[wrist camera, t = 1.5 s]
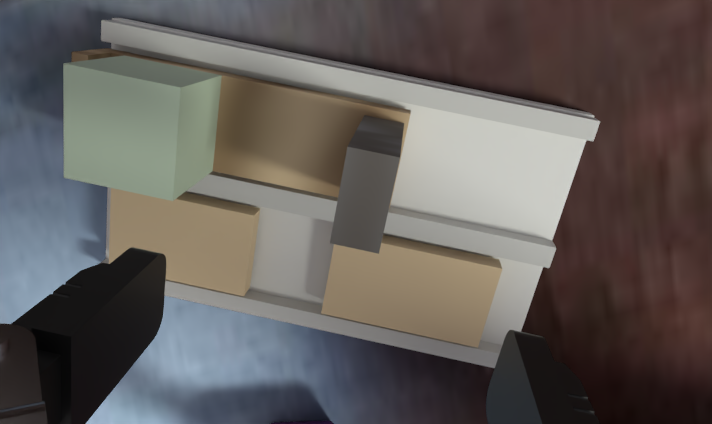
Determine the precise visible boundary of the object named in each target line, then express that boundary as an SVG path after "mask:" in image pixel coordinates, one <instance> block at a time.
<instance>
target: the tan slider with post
mask: <svg viewBox="0 0 712 424" xmlns="http://www.w3.org/2000/svg"><path fill="white" fill-rule="evenodd" d="M124 55H125V56H130V57H135V58H139V59H144V60H149V61H154V62H159V63H164V64H169V65H174V66H179V67H183V68H188V69H193V70H198V71H203V72H208V73H213V74H218V75H222V79H221V89H220V99H219V110H218V120H217V131H216V141H215V151H214V162H213V171H215V172H219V173H224V174H229V175H233V176H238V177H243V178H248V179H252V180H257V181H262V182H267V183H271V184H276V185H281V186H286V187H290V188H295V189H300V190H304V191H309V192H314V193H319V194H323V195H328V196H333V197H338V201H337V206H336V212H335V217H334V223H333V228H332V233H331V239H330V243H331V244H336V245H340V246H345V247H350V248H354V249H359V250H364V251H368V252H373V253H378V254H379V251H380V247H381V242H382V238H383V233H384V228H385V224H386V219H387V215H388V210H389V208H390V204H391V200H392V195H393V191H394V186H395V182H396V177H397V173H398V168H399V164H400V159H401V155H402V150H403V146H404V141H405V137H406V132H407V128H408V123H409V119H410V114H411V110H408V109H403V108H398V107H393V106H388V105H383V104H378V103H374V102H369V101H364V100H359V99H354V98H349V97H344V96H339V95H334V94H330V93H325V92H320V91H315V90H310V89H305V88H300V87H295V86H290V85H286V84H281V83H276V82H271V81H266V80H261V79H256V78H251V77H246V76H242V75H237V74H232V73H227V72H222V71H217V70H212V69H207V68H203V67H198V66H193V65H188V64H183V63H178V62H173V61H168V60H163V59H159V58H154V57H149V56H144V55H139V54H134V53H129V52H124V51H119V50H115V49H110V48H105V49H95V50H85V51H75V52H72V62H78V61H85V60H93V59H101V58H108V57H116V56H124Z"/></svg>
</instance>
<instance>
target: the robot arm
mask: <svg viewBox="0 0 712 424" xmlns="http://www.w3.org/2000/svg"><path fill="white" fill-rule="evenodd" d="M165 279H166V257H165V255H164V254H162V253H157V252H152V251H148V250H143V249H139V248H134V247H131V248H129V249H127V250H126V251H125V252H124V253H122V254H121V255H120V256H119V257H118V258H116V259H115V260H114V261H113V262H111V263H110V264H107V263H100V264H98V265H95V266H92V267H90V268H87V269H84V270H81V271H80V272H79V273H77V274H76V275H75V276H73V277H72V278H71V279H69V280H68V281H67V282H66V284H65V285H62V286H60V287H59V288H58V289H56V290H55V291H54V292H53V295H52V294H50V295H49V296H47V297H46V298H45V299H43V300H42V301H41V302H39V303H38V304H37V305H35V306H34V307H33V308H32V309H30V310H29V311H28V312H26V313H25V314H24V315H22V316H21V317H20V318H18V319H17V320H16V321H15V322H13V323H12V324H0V424H85V423H86V422H87V421H88V420H89V418H90V417H91V416H92V415H93V413H94V412H95V411H96V410H97V409H98V407H99V406H100V405H101V404H102V402H103V401H104V400H105V399H106V397H107V396H108V395H109V394H110V392H111V391H112V390H113V389H114V388H115V386H116V385H117V384H118V383H119V381H120V380H121V379H122V378H123V376H124V375H125V374H126V373H127V371H128V370H129V369H130V368H131V366H132V365H133V364H134V363H135V362H136V360H137V359H138V358H139V357H140V355H141V354H142V353H143V352H144V350H145V349H146V348H147V347H148V345H149V344H150V343H151V342H152V340H153V339H154V338H155V336H156V334H157V332H158V330H159V327H160V324H161V321H162V317H163V308H164V293H165ZM486 414H487V420H488V424H600V423H599V420H598V418H597V416H596V415H594V409H593V407H592V405H591V403H590V401H588V396H587V394H586V392H585V389H584V387H583V385H582V383H581V381H580V379H579V378H578V377H577V376H576V375H575V374H574V373H573V372H572V371H571V370H570V369H569V368H568V367H567V366H566V365H565V364H564V363H559V362H555V361H554V359H553V357H552V354H551V352H550V349H549V347H548V344H547V342H546V340H545V338H544V337H543V336H538V335H534V334H529V333H524V332H520V331H515V330H509V331H508V332H507V334H506V336H505V339H504V342H503V345H502V348H501V351H500V354H499V357H498V360H497V363H496V366H495V369H494V372H493V375H492V378H491V381H490V384H489V388H488V392H487V399H486Z"/></svg>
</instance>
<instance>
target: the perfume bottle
mask: <svg viewBox="0 0 712 424" xmlns="http://www.w3.org/2000/svg"><path fill="white" fill-rule="evenodd" d="M271 424H334V423H332V422H331V421H328V420H327V421H299V422H274V423H271Z"/></svg>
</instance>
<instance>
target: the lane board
mask: <svg viewBox="0 0 712 424" xmlns="http://www.w3.org/2000/svg"><path fill="white" fill-rule="evenodd" d="M101 41H104V42H109V43H111V49H115V50H119V51H124V52H129V53H134V54H139V55H144V56H149V57H154V58H159V59H163V60H168V61H173V62H178V63H183V64H188V65H193V66H198V67H203V68H207V69H212V70H217V71H222V72H227V73H232V74H237V75H242V76H246V77H251V78H256V79H261V80H266V81H271V82H276V83H281V84H286V85H290V86H295V87H300V88H305V89H310V90H315V91H320V92H325V93H330V94H334V95H339V96H344V97H349V98H354V99H359V100H364V101H369V102H374V103H378V104H383V105H388V106H393V107H398V108H403V109H408V110H411V114H410V119H409V123H408V128H407V132H406V137H405V141H404V146H403V150H402V155H401V159H400V164H399V168H398V173H397V177H396V182H395V186H394V191H393V195H392V200H391V204H390V208H389V210H388V215H387V219H386V224H385V228H384V233H383V238H382V242H381V247H380V251H379V254H378V253H373V252H368V251H364V250H359V249H354V248H350V247H345V246H340V245H336V244H331V243H330V239H331V233H332V228H333V223H334V217H335V212H336V206H337V201H338V197H333V196H328V195H323V194H319V193H314V192H309V191H304V190H300V189H295V188H290V187H286V186H281V185H276V184H271V183H267V182H262V181H257V180H252V179H248V178H243V177H238V176H233V175H229V174H224V173H219V172H215V171H212V172H211V173H209V174H208V175H207V176H205V177H204V178H203V179H201V180H200V181H199V182H197V183H196V184H195V185H193V186H192V187H191V188H189V189H188V190H187V191H185V192H184V193H183V194H181V195H180V196H179V197H178V198H176V199H175V200H174V201H170V200H165V199H161V198H156V197H151V196H147V195H142V194H137V193H133V192H128V191H123V190H119V189H114V188H109V187H108V191H107V230H106V259H104V260H103V261H102V262H101V263H107V264H110V263H111V262H113V261H114V260H115V259H116V258H118V257H119V256H120V255H121V254H122V253H124V252H125V251H126V250H127V249H129V248H131V247H134V248H139V249H143V250H148V251H152V252H157V253H162V254H164V255H165V257H166V279H165V293H164V296H169V297H174V298H178V299H183V300H187V301H192V302H196V303H201V304H205V305H210V306H214V307H219V308H223V309H228V310H232V311H237V312H242V313H246V314H251V315H255V316H260V317H264V318H269V319H273V320H278V321H282V322H287V323H291V324H296V325H301V326H305V327H310V328H314V329H319V330H323V331H328V332H332V333H337V334H341V335H346V336H350V337H355V338H359V339H364V340H369V341H373V342H378V343H382V344H387V345H391V346H396V347H400V348H405V349H409V350H414V351H418V352H423V353H428V354H432V355H437V356H441V357H446V358H450V359H455V360H459V361H464V362H468V363H473V364H477V365H482V366H486V367H491V368H495V366H496V363H497V360H498V357H499V354H500V351H501V348H502V345H503V342H504V339H505V336H506V334H507V332H508V331H509V330H515V331H520V332H521V330H522V327H523V324H524V321H525V318H526V316H527V313H528V310H529V307H530V304H531V301H532V298H533V295H534V292H535V289H536V286H537V283H538V280H539V277H540V274H541V272H542V269H543V267H547V268H550V265H551V262H552V259H553V256H554V254H555V251H556V246H555V245H554V243H553V241H552V239H553V236H554V233H555V231H556V228H557V225H558V222H559V219H560V216H561V213H562V210H563V207H564V204H565V201H566V198H567V195H568V192H569V190H570V187H571V184H572V181H573V178H574V175H575V172H576V169H577V166H578V163H579V160H580V157H581V154H582V151H583V148H584V146H585V143H586V140H589V141H594V138H595V135H596V132H597V129H598V127H599V124H600V121H599V120H597V119H595V118H594V115H592V114H591V113H589V112H584V111H579V110H574V109H569V108H564V107H559V106H554V105H549V104H544V103H539V102H534V101H529V100H524V99H520V98H515V97H510V96H505V95H500V94H495V93H490V92H485V91H480V90H475V89H470V88H465V87H460V86H455V85H450V84H445V83H440V82H436V81H431V80H426V79H421V78H416V77H411V76H406V75H401V74H396V73H391V72H386V71H381V70H376V69H371V68H366V67H361V66H357V65H352V64H347V63H342V62H337V61H332V60H327V59H322V58H317V57H312V56H307V55H302V54H297V53H292V52H287V51H282V50H277V49H273V48H268V47H263V46H258V45H253V44H248V43H243V42H238V41H233V40H228V39H223V38H218V37H213V36H208V35H203V34H198V33H193V32H189V31H184V30H179V29H174V28H169V27H164V26H159V25H154V24H149V23H144V22H139V21H134V20H129V19H124V18H112V20H101ZM99 264H100V263H99Z"/></svg>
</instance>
